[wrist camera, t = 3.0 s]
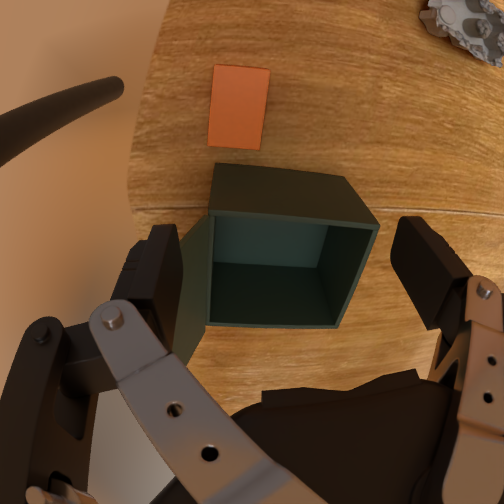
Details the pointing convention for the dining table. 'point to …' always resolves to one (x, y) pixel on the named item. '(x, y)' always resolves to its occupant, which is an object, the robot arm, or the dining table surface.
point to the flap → (192, 291)
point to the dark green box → (283, 247)
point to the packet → (237, 106)
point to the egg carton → (468, 26)
